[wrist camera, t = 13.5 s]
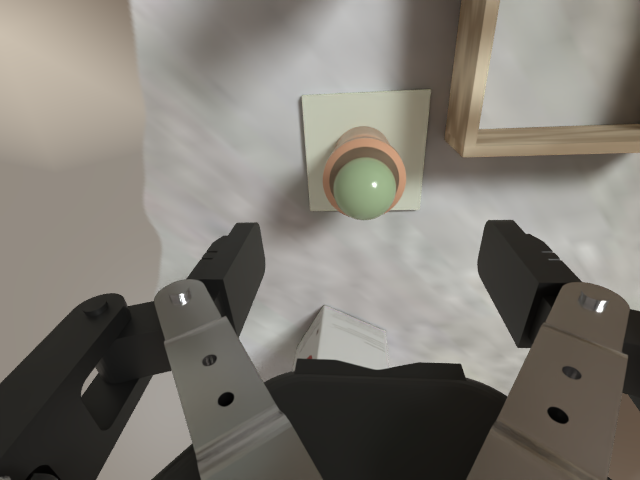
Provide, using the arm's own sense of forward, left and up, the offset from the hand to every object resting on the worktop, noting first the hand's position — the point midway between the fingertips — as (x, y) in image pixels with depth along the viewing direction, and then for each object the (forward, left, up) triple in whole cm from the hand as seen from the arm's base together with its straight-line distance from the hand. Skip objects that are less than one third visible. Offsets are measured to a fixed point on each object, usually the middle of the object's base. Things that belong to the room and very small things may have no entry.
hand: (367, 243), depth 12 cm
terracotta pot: (+2, 0, -21) cm, 21 cm away
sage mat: (+2, 0, -21) cm, 21 cm away
